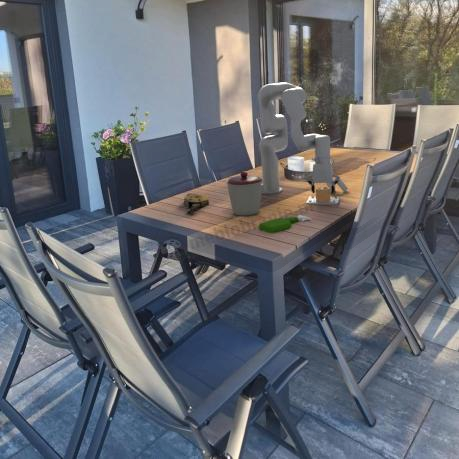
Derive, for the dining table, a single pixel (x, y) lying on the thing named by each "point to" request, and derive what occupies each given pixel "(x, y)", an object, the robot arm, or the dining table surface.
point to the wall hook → (338, 185)
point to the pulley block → (195, 202)
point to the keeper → (331, 202)
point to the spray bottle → (280, 223)
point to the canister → (245, 194)
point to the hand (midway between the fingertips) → (323, 192)
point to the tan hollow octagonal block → (323, 194)
